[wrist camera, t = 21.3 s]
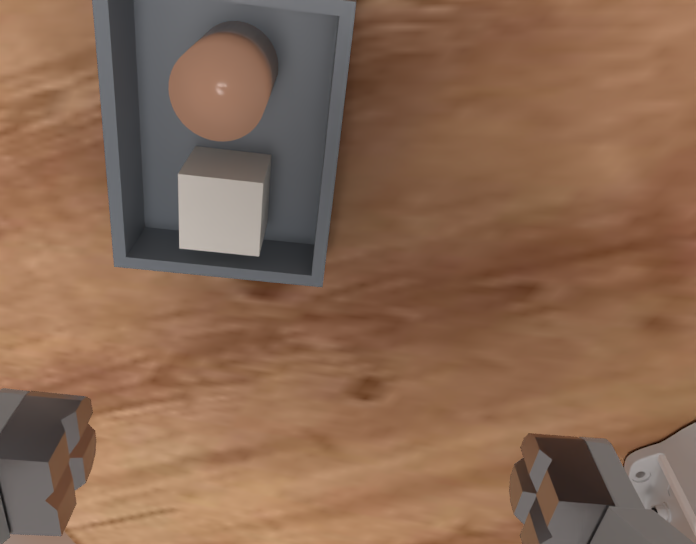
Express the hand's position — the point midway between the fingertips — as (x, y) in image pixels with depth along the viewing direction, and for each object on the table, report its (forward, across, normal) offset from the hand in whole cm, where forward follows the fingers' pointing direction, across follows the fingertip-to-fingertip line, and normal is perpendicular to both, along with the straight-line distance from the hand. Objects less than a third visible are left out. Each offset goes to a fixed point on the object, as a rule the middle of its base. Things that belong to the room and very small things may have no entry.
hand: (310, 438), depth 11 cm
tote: (+31, +6, +4) cm, 32 cm away
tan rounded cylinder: (+30, +6, 0) cm, 31 cm away
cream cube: (+30, +6, +8) cm, 32 cm away
